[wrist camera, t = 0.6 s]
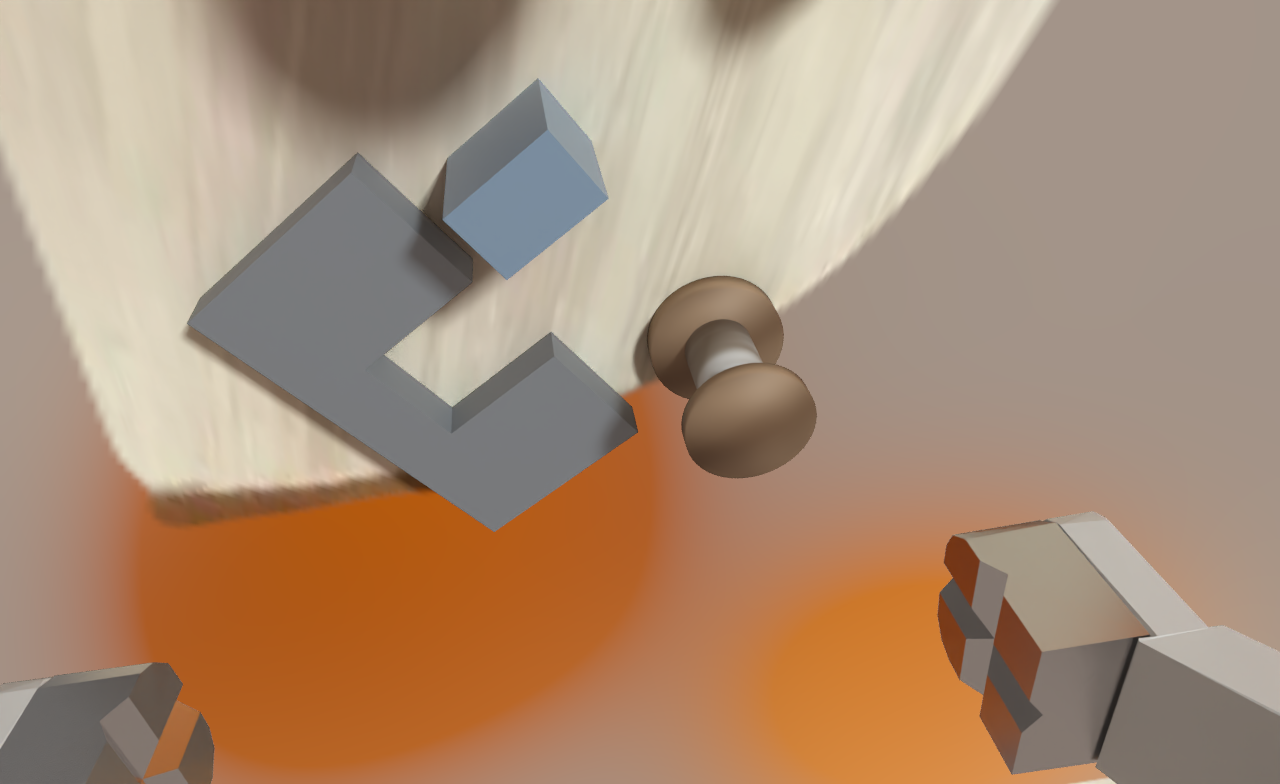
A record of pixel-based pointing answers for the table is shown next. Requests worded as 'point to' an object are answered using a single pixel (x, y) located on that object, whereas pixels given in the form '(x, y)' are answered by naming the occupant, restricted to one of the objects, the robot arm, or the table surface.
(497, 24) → the table surface
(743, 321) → the bobbin post
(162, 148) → the table surface
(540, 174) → the blue-gray rectangular block
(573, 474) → the notched board
